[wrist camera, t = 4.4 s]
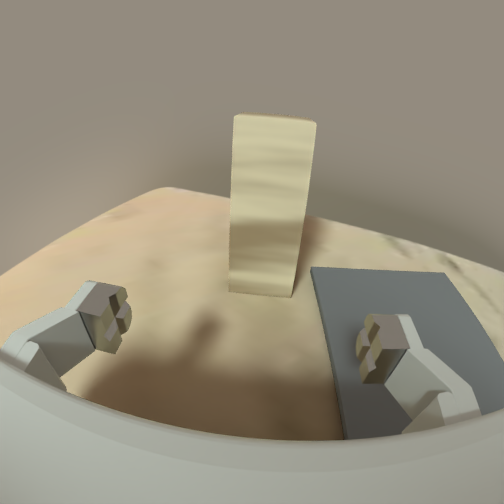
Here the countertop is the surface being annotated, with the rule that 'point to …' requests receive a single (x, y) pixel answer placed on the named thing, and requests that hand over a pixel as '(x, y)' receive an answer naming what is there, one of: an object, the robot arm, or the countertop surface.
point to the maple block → (268, 200)
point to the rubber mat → (427, 326)
